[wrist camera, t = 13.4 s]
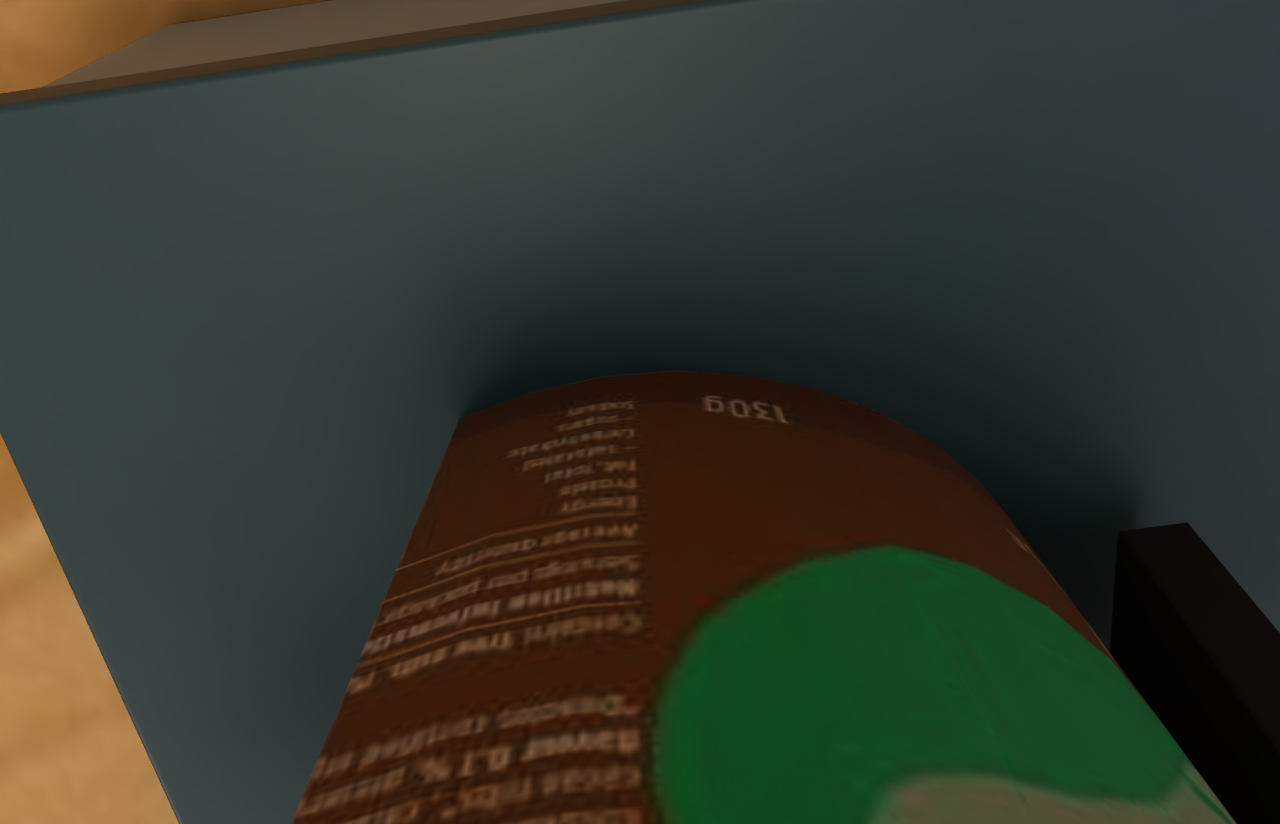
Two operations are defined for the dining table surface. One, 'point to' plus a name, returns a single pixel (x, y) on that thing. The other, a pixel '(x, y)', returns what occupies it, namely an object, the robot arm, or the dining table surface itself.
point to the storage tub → (611, 292)
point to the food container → (730, 633)
